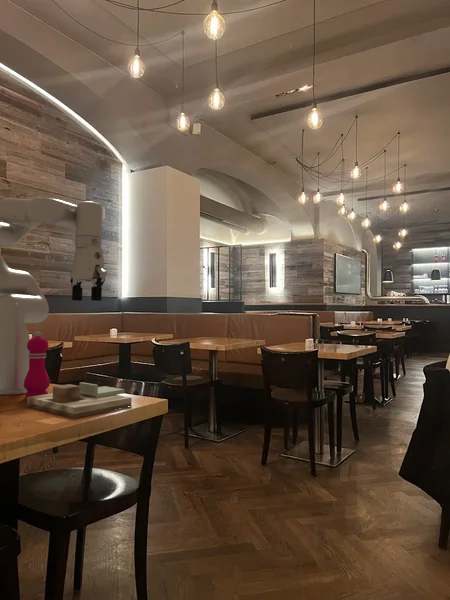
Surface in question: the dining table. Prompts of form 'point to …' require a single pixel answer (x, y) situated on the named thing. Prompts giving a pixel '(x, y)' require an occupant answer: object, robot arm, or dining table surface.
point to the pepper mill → (37, 367)
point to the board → (79, 404)
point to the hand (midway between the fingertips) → (86, 300)
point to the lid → (99, 390)
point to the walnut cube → (66, 393)
